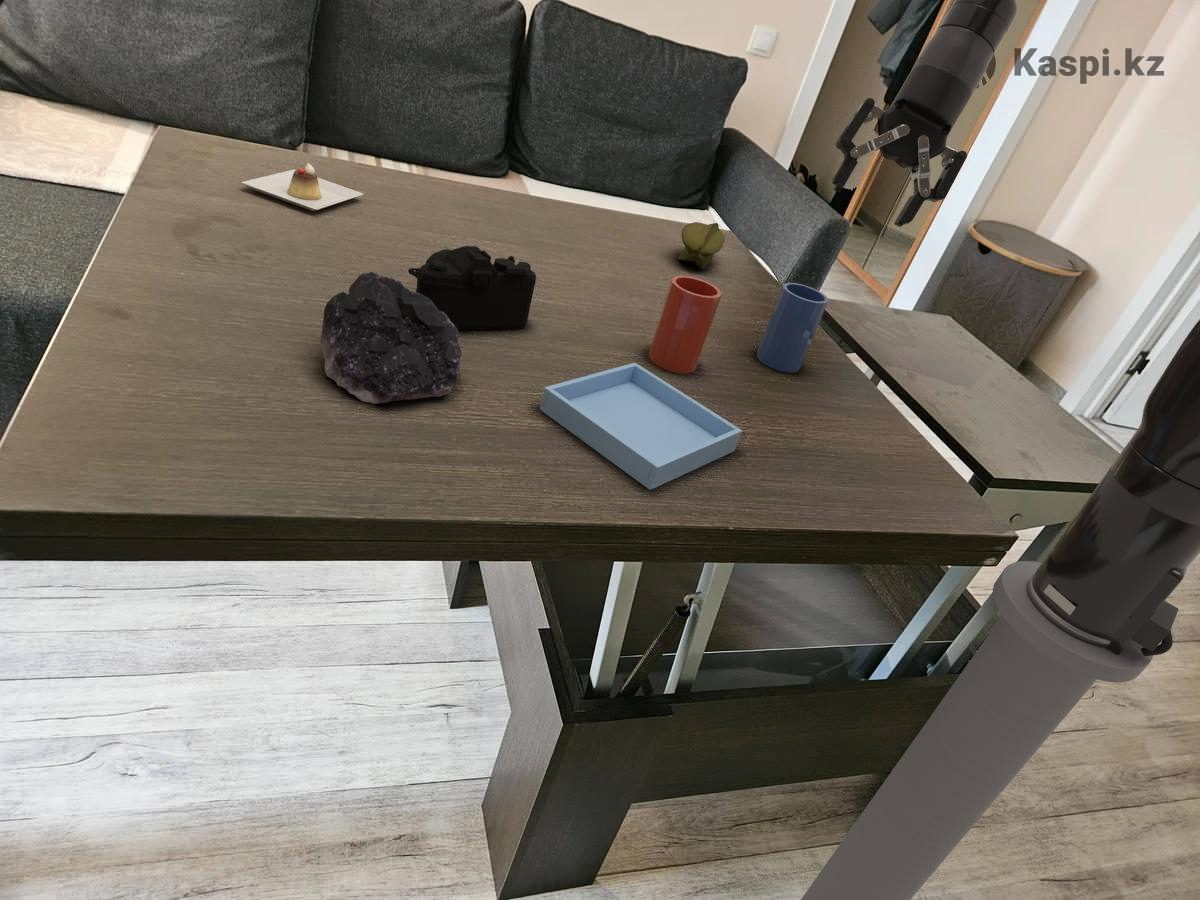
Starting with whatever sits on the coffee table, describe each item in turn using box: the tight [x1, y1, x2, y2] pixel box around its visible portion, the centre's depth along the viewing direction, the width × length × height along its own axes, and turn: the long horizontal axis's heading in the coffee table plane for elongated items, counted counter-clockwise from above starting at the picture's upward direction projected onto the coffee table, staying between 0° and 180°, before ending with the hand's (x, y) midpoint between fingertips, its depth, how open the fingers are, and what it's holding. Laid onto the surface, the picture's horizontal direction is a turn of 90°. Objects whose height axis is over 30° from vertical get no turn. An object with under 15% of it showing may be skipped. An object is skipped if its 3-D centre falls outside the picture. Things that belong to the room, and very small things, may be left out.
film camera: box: [407, 245, 537, 332], centre depth 92 cm, size 15×10×9 cm, turn 121°
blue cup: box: [756, 282, 830, 374], centre depth 103 cm, size 6×6×10 cm
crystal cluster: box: [320, 271, 462, 405], centre depth 77 cm, size 13×14×10 cm
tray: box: [539, 362, 743, 491], centre depth 81 cm, size 15×14×3 cm
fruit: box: [678, 221, 725, 270], centre depth 132 cm, size 11×12×7 cm
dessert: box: [241, 162, 365, 212], centre depth 113 cm, size 12×12×5 cm
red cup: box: [648, 275, 723, 375], centre depth 95 cm, size 6×6×10 cm
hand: (867, 207), depth 96 cm, fingers open, 8 cm apart
